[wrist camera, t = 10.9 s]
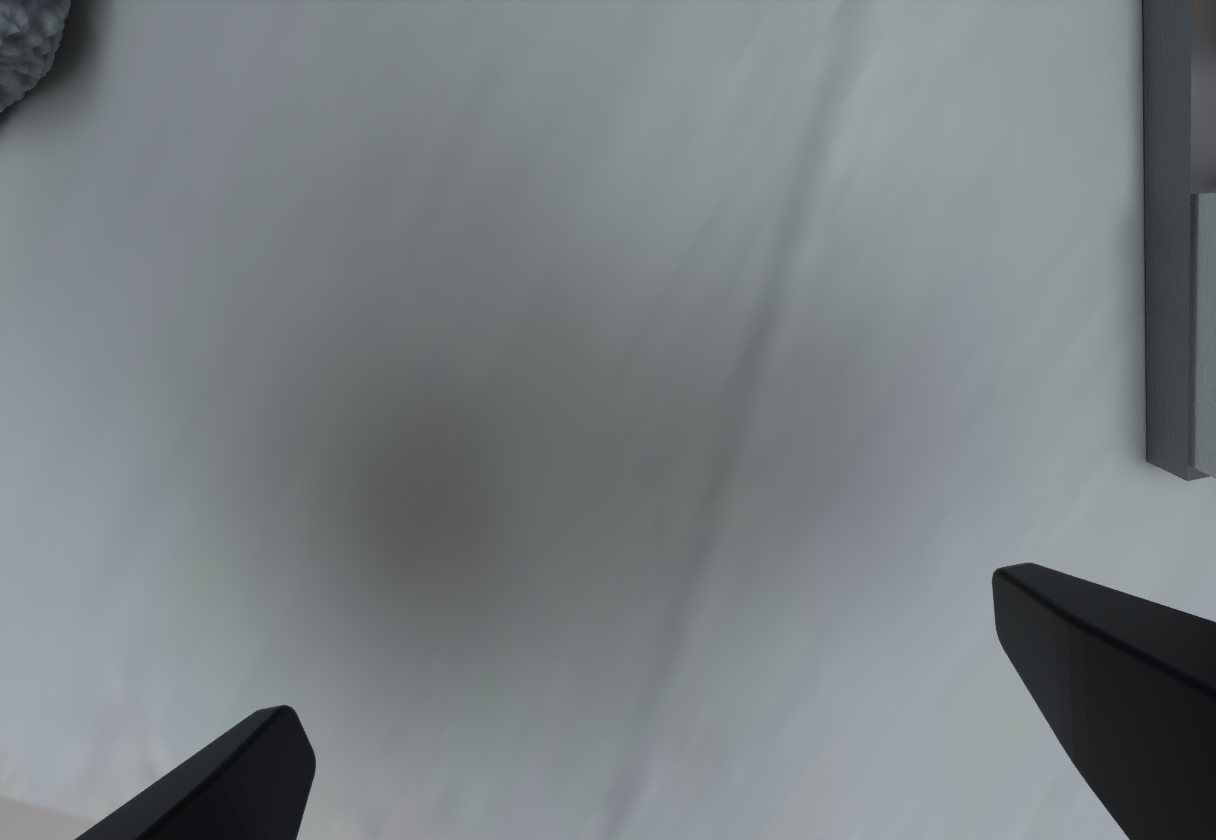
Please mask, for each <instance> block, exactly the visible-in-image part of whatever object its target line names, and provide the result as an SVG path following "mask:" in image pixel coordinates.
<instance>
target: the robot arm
mask: <svg viewBox="0 0 1216 840" xmlns="http://www.w3.org/2000/svg"><path fill="white" fill-rule="evenodd" d="M992 588H993V600H994V612H995V624H996V631H997V635H998V638H999V641H1000V643H1001V645H1002V647H1003V649H1004V651H1005V653H1006V654H1007V656H1008V657H1009V659H1010V661H1011V662H1012V664H1013V666H1014V667H1015V669H1016V671H1017V672H1018V674H1019V676H1020V677H1021V679H1022V681H1023V682H1024V684H1025V686H1026V687H1027V689H1028V691H1029V692H1030V694H1031V696H1032V697H1033V699H1034V701H1035V702H1036V704H1037V705H1038V707H1039V709H1040V710H1041V712H1042V714H1043V715H1044V717H1045V719H1046V720H1047V722H1048V724H1049V725H1050V727H1051V729H1052V730H1053V732H1054V734H1055V735H1056V737H1057V739H1058V740H1059V742H1060V744H1061V745H1062V747H1063V748H1064V750H1065V751H1066V753H1067V755H1068V756H1069V758H1070V759H1071V761H1072V762H1073V764H1074V765H1075V767H1076V768H1077V770H1078V771H1079V772H1080V774H1081V775H1082V777H1083V778H1084V779H1085V781H1086V782H1087V784H1088V785H1089V786H1090V788H1091V789H1092V790H1093V792H1094V793H1095V794H1096V796H1097V797H1098V798H1099V800H1100V801H1101V802H1102V804H1103V805H1104V806H1105V808H1106V809H1107V810H1108V812H1109V813H1110V814H1111V816H1112V817H1113V818H1114V820H1115V821H1116V822H1117V824H1118V825H1119V826H1120V828H1121V829H1122V830H1123V832H1124V833H1125V834H1126V836H1127V837H1128V838H1129V840H1216V622H1214V621H1210V620H1207V619H1204V618H1201V617H1198V616H1195V615H1192V614H1189V613H1186V612H1183V611H1180V610H1176V609H1173V608H1170V607H1167V606H1164V605H1161V604H1158V603H1155V602H1152V601H1149V600H1145V599H1142V598H1139V597H1136V596H1133V595H1130V594H1127V593H1124V592H1121V591H1118V590H1114V589H1111V588H1108V587H1105V586H1102V585H1099V584H1096V583H1093V582H1090V581H1087V580H1083V579H1080V578H1077V577H1074V576H1071V575H1068V574H1065V573H1062V572H1059V571H1056V570H1053V569H1049V568H1046V567H1043V566H1040V565H1037V564H1034V563H1022V564H1017V565H1012V566H1007V567H1002V568H998V569H996V571H995V572H994V573H993V577H992ZM315 768H316V759H315V754H314V751H313V749H312V746H311V744H310V742H309V740H308V738H307V735H306V733H305V731H304V729H303V727H302V724H301V722H300V720H299V718H298V715H297V713H296V712H295V710H294V709H293V708H292V707H290V706H287V705H282V706H276V707H271V708H266V709H260V710H258V711H256V712H254V713H252V714H251V715H250V716H248V717H247V718H245V719H244V720H243V721H241V722H240V723H238V724H237V725H236V726H234V727H233V728H231V729H230V730H228V731H227V732H226V733H224V734H223V735H221V736H220V737H219V738H217V739H216V740H214V741H213V742H212V743H210V744H209V745H207V746H206V747H204V748H203V749H202V750H200V751H199V752H197V753H196V754H195V755H193V756H192V757H190V758H189V759H188V760H186V761H185V762H183V763H182V764H180V765H179V766H178V767H176V768H175V769H173V770H172V771H171V772H169V773H168V774H166V775H165V776H164V777H162V778H161V779H159V780H158V781H156V782H155V783H154V784H152V785H151V786H149V787H148V788H147V789H145V790H144V791H142V792H141V793H140V794H138V795H137V796H135V797H134V798H133V799H131V800H130V801H128V802H127V803H125V804H124V805H123V806H121V807H120V808H118V809H117V810H116V811H114V812H113V813H111V814H110V815H109V816H107V817H106V818H104V819H103V820H101V821H100V822H99V823H97V824H96V825H94V826H93V827H92V828H90V829H89V830H87V831H86V832H85V833H83V834H82V835H80V836H79V837H77V838H76V839H75V840H296V839H297V835H298V832H299V828H300V825H301V821H302V818H303V814H304V810H305V807H306V803H307V800H308V796H309V793H310V789H311V786H312V782H313V779H314V775H315Z"/></svg>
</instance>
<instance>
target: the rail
mask: <svg viewBox="0 0 1216 840" xmlns="http://www.w3.org/2000/svg"><path fill="white" fill-rule="evenodd" d="M1143 22H1144V137H1145V252H1146V367H1147V462H1149V463H1151V464H1153V465H1155V466H1158V467H1160V468H1162V469H1164V470H1166V471H1168V472H1170V473H1172V474H1174V475H1176V476H1178V477H1180V478H1182V479H1184V480H1186V481H1190V480H1195V479H1200V478H1205V477H1210V476H1212V477H1214V478H1216V0H1143Z"/></svg>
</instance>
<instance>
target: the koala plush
mask: <svg viewBox="0 0 1216 840" xmlns="http://www.w3.org/2000/svg"><path fill="white" fill-rule="evenodd" d="M70 4H71V1H70V0H0V112H2V111H3V110H4V109H5V108H6V107H7V106H10V105H12V104H13V102H14V101H17V100H21V99H22V98H23V97H24V96H25V91H28V90H31V89H32V88H34V87H35V86H36V84H37V83H38V81H39V79H41V77H44V76H45V75H46V74H47V72H48V71H50V70H51V67H52V64H53V61H54V58H55V54H54V53H55V52H56V51H57V49H58V48H59V46H60V44H59V42H60V41H61V40H62V37H63V31H62V30H63V29H64V27H65V19H66V18H67V16H68V14H69V8H70Z"/></svg>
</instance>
